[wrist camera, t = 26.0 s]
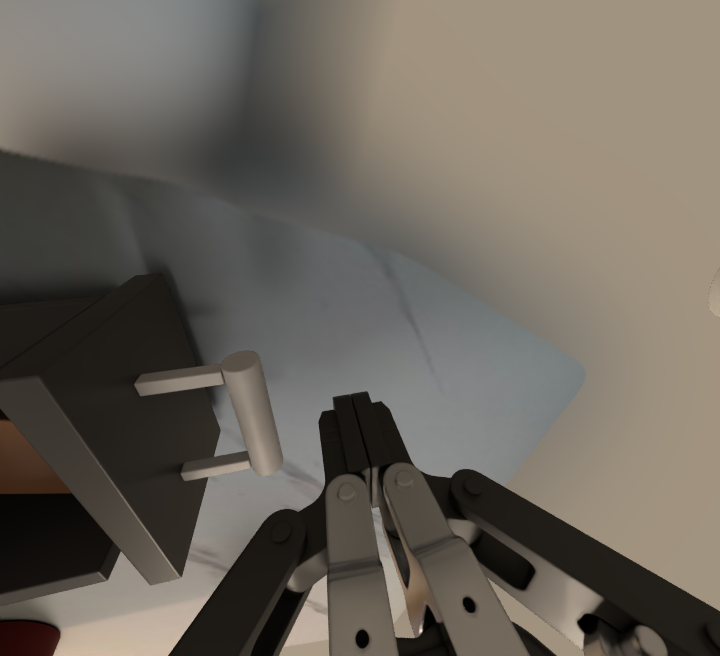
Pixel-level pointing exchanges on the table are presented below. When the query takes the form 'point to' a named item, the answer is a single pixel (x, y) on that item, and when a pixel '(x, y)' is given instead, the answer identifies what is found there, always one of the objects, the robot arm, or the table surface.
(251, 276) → the table surface
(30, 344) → the drawer
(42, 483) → the block
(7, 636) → the mug
